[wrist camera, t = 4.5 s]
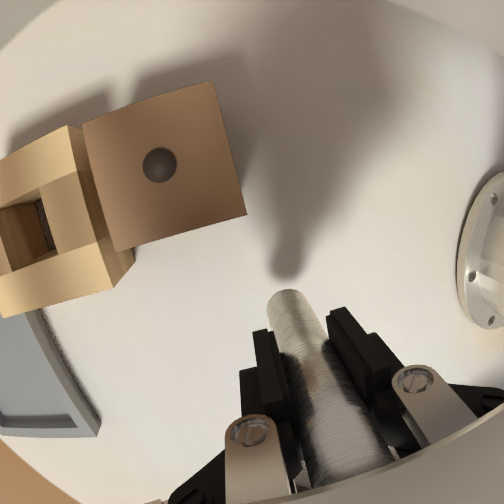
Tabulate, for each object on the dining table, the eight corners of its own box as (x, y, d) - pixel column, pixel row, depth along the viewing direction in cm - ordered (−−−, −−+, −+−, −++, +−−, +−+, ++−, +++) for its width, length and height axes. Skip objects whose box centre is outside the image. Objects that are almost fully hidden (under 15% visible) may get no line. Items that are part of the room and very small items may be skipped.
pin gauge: (303, 284, 15) (437, 511, 3) (310, 320, 15) (420, 541, 4) (262, 295, 15) (328, 553, 3) (271, 331, 15) (333, 573, 4)
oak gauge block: (99, 134, 14) (67, 124, 10) (135, 261, 16) (113, 287, 12) (3, 180, 14) (-39, 185, 10) (37, 291, 16) (2, 318, 12)
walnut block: (213, 108, 15) (212, 79, 10) (237, 202, 16) (247, 215, 11) (119, 137, 14) (80, 123, 9) (144, 229, 16) (115, 253, 11)
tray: (28, 285, 15) (16, 294, 14) (101, 423, 18) (96, 436, 17) (-55, 314, 15) (-66, 322, 13) (8, 425, 18) (1, 435, 16)
